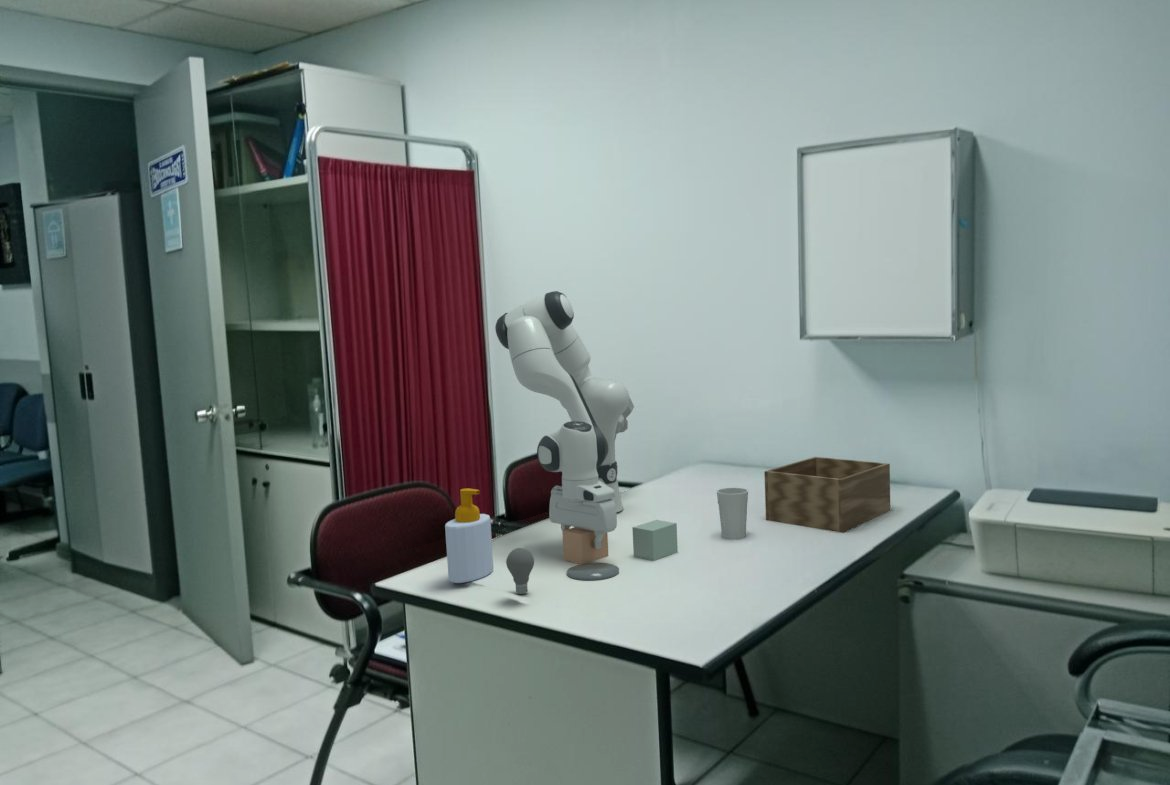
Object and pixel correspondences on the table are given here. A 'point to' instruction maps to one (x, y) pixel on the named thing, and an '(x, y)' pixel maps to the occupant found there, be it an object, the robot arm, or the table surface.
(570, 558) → the peach smooth rectangular block
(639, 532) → the pale green upright block
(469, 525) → the soap bottle
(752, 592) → the table surface
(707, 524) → the table surface
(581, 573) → the slate coaster
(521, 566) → the light bulb
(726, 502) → the cup
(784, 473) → the walnut planter box
